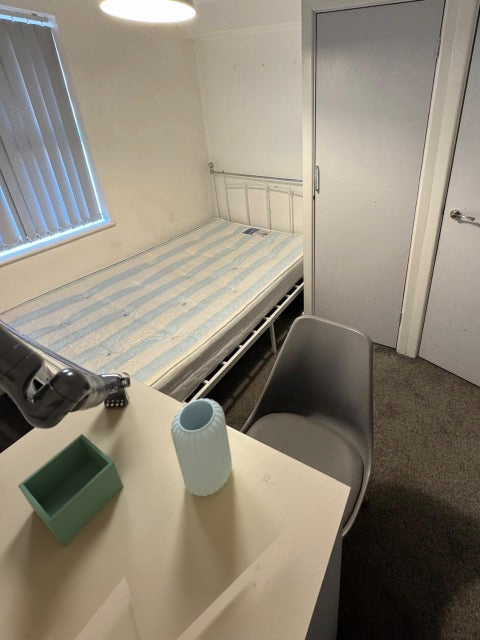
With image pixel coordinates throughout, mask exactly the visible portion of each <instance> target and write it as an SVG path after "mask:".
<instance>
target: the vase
mask: <svg viewBox="0 0 480 640" xmlns="http://www.w3.org/2000/svg"><path fill="white" fill-rule="evenodd" d="M170 435H171V439H172V443H173V447H174V450H175V453H176V458H177V461H178V465H179V468H180V472H181V476H182V479H183V483H184V486H185V487H186V489H187V491H188V492H190V493H191V494H192V495H194V496H195V495H196V496H197V497H207V496H212V495H213V494H214V493H218V492H219V491H220V489H221V488H223V487H224V486H225V483H227V482H228V480H229V477H230V476H231V473H232V469H233V463H232V461H233V460H232V453H231V446H230V441H229V434H228V428H227V422H226V416H225V412H224V409H223V407H222V406H221V405H220V403H218V402H217V401H215V400H214V399H210V398H203V397H202V398H199V399H194V400H193V401H189V402H188V403H186V404H184V405H183V406H182V407H181V408H180V409H179V410H178V411H177V413H176V414H175V416H174V417H173V420H172V422H171V428H170Z"/></svg>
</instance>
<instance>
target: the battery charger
mask: <svg viewBox="0 0 480 640" xmlns="http://www.w3.org/2000/svg"><path fill="white" fill-rule="evenodd" d="M100 375H101V376H103V377H105V378H106V379H107V380H112V379H116V380H119V379H121V378H122V377H123V376H122V375H121V374H119V373H103V374H100ZM117 383H118V382H117ZM117 388H119V386H117ZM110 392H111V391H110ZM128 403H130V397H129V394H128V390H127V387H125V388H123V389H119V390H118V391H117V392H115V393H112V394H108V396H107V398H106V399H105V400H104V401H103V405H104V406H103V407H104V408H105V409H122V408H125V407H126V406H127V405H128Z"/></svg>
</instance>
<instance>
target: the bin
mask: <svg viewBox="0 0 480 640" xmlns="http://www.w3.org/2000/svg"><path fill="white" fill-rule="evenodd" d="M17 487H18V488H19V490H20V491H21V493H22V495H23V496H24V498H25V499H26V501H27V502H28V504H29V505H30V507H31V508H32V510H33V511H34V513H35V514H36V515H37V516H38V518H39V519H40V520H41V522H43V524H44V525H45V526H46V527H47V529H48V530H49V531H50V532H51V534H52V535H53V536H54V538H55V539H56V540H57V542H58V543H59V544H60V545H61V547H62V548H65V547H66V546H67V545H68V544H69V543H70V542H71V541H72V540H73V539H74V538H75V537H76V536H77V535H78V534H79V533H80V532H81V531H82V530H83V529H84V528H85V526H87V525H88V523H90V522H91V520H92V519H94V518H95V516H97V514H98V513H99V512H100V511H101V510H102V509H103V508H104V507H105V506H106V505H107V504H108V503H109V502H110V501H111V500H112V499H113V498H114V497H115V496H116V495H117V494H118V493H119V491H121V489H123V487H124V483H123V481H122V479H121V476H120V474H119V472H118V469H117V467H116V464H115V462H114V460H112V459H111V458H110V457H109V456H108V455H106V454H105V452H103V451H102V450H101V449H100V448H98V446H96V445H95V444H94V443H93V442H92V441H91V440H90V439H89V438H87V437H86V436H85V435H84V434H83V433H81V434H80V435H79V436H78V437H76V438H75V439H74V440H72V441H71V442H70V443H68V444H67V445H66V446H65V447H64V448H62V449H61V450H60V451H59V452H57V453H56V454H54V455H53V456H52V457H51V458H50V459H49V460H47V462H44V464H43V465H41V466H40V467H38V469H36V470H35V471H34V472H33V473H31V474H30V475H29V476H28V477H26V478H25V479H24V480H22V482H20V483H19V484H17Z"/></svg>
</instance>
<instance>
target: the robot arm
mask: <svg viewBox="0 0 480 640" xmlns="http://www.w3.org/2000/svg"><path fill="white" fill-rule="evenodd" d="M45 363H46V360H45V358H44V357H43V356H42V355H41V354H40V353H38V352H37V351H35V350H34V349H33V348H31V347H30V346H29V345H28V344H26V343H24V342H23V341H22V340H20V339H19V337H18V338H17V336H15V335H14V334H12V333H11V332H10V331H9V330H7V329H6V328H5V327H4V326H3V325H2V324H1V323H0V388H1V389H2V390H3V391H4V392H5V393H6V394H7V395H8V397H9V398H10V399H11V400H12V401H13V402H14V404H15V405H16V406H17V408H18V410H19V411H20V413H21V414H22V416H23V417H24V419H25V420H26V421H27V422H28V424H30V425H31V426H32V427H34V428H36V429H41V430H48V429H49V430H50V429H53V428H54V427H56V426H57V425H59V424H60V423H61V422H62V421H63V420H64V419H65V418H66V417H67V416H68V414H69V413H71V414H72V413H76V412H81V411H82V412H83V411H87V410H90V409H94V408H97V407H98V406H100V405H102V403H104V400H105V399H106V398H107V396H108V394H112V393H115V392H117V391H118V390H119V389H123V388H125V387H126V389H127V388H130V387H131V386H132V385H131V377H130V376H126V377H125V376H124V377H123V376H122V378H121V379H119V380H116V379H112V380H107V379H106V378H105V377H103V376H101V375H102V374H85V373H84V372H83V371H81V370H80V369H77V368H75V367H65V368H62V369H60V370H59V371H57V372H56V373H54V374H53V376H51V378H50V379H48V381H46V383H44V384H43V385H42V386H41V387H40V388H39V389H38V390H37V391H35V389H34V387H33V382H34V380H35V378H36V377H37V376H38V374H39V373H40V371H42V369H43V367H44V366H45ZM117 382H118V383H117ZM117 386H119V388H117ZM110 391H111V392H110Z"/></svg>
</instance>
